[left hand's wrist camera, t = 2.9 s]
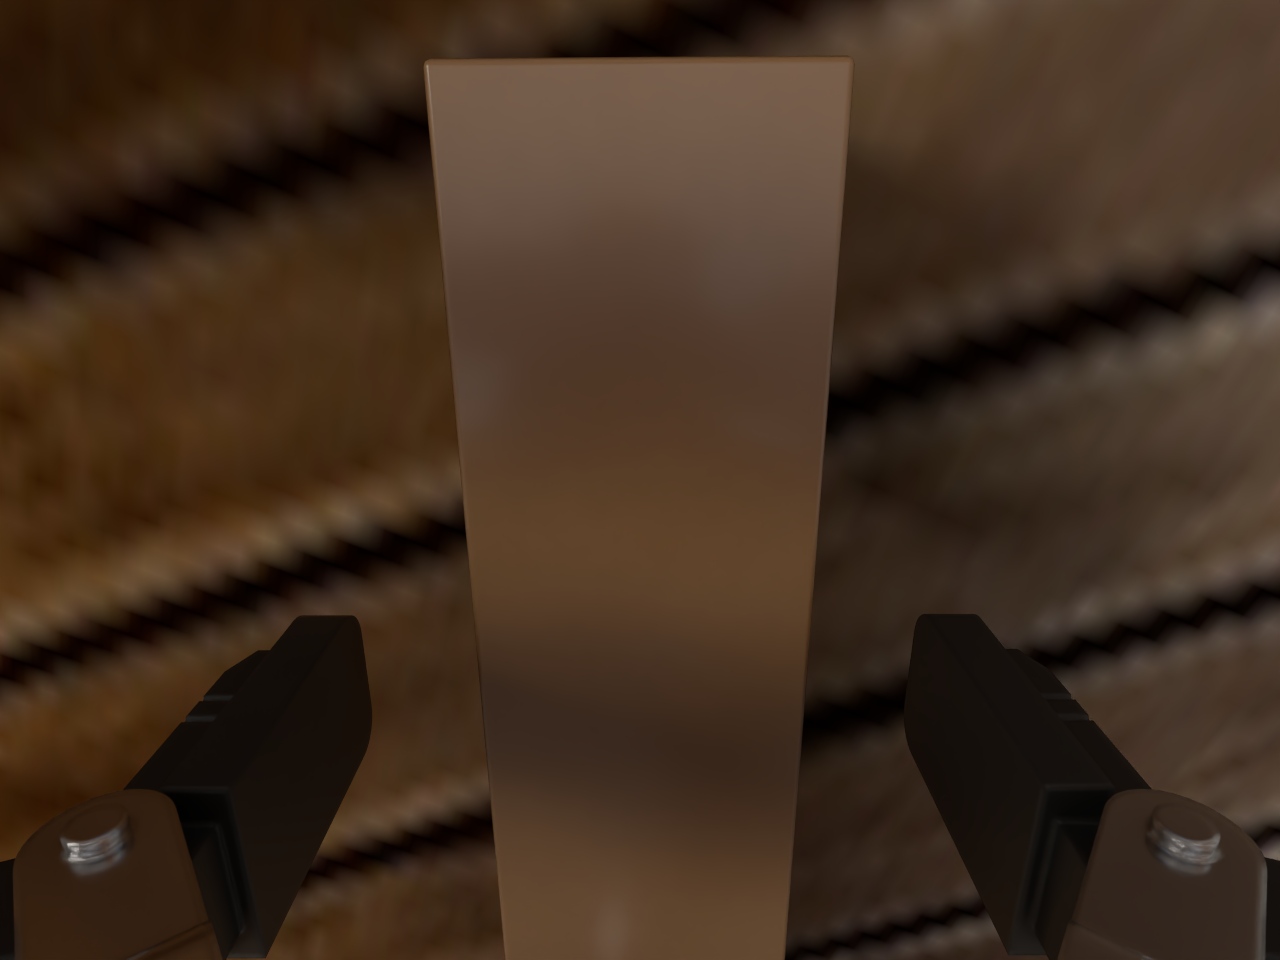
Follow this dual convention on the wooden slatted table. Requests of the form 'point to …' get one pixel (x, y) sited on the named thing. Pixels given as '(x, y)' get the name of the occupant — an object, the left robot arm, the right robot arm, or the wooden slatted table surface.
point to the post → (641, 476)
